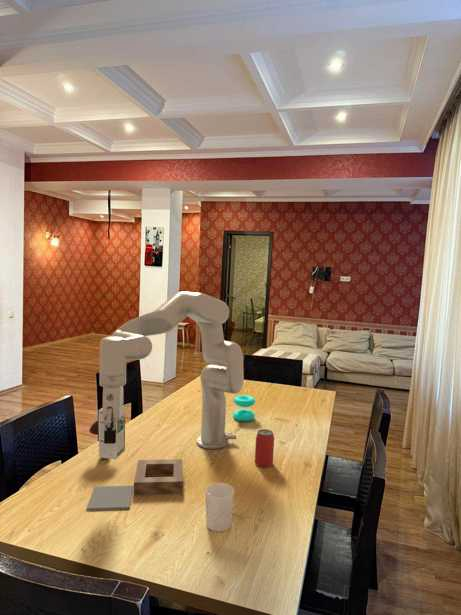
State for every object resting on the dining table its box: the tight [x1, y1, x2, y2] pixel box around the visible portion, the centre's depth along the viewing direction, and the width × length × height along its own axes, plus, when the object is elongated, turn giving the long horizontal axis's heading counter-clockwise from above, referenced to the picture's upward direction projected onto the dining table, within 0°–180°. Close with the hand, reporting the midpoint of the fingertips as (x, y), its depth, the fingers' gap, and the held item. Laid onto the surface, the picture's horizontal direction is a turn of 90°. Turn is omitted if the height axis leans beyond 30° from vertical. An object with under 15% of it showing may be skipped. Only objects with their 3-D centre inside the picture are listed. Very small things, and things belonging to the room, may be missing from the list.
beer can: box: [254, 428, 275, 468], centre depth 155 cm, size 7×7×12 cm
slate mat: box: [86, 485, 134, 511], centre depth 129 cm, size 12×12×1 cm
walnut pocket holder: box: [133, 458, 184, 496], centre depth 140 cm, size 15×15×4 cm
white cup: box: [205, 482, 235, 533], centre depth 118 cm, size 8×8×10 cm
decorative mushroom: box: [89, 419, 107, 460], centre depth 154 cm, size 11×11×15 cm
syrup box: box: [98, 404, 126, 460], centre depth 127 cm, size 6×6×14 cm
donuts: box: [232, 394, 256, 422], centre depth 200 cm, size 10×10×10 cm
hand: (111, 437), depth 127 cm, fingers closed on syrup box, 7 cm apart
